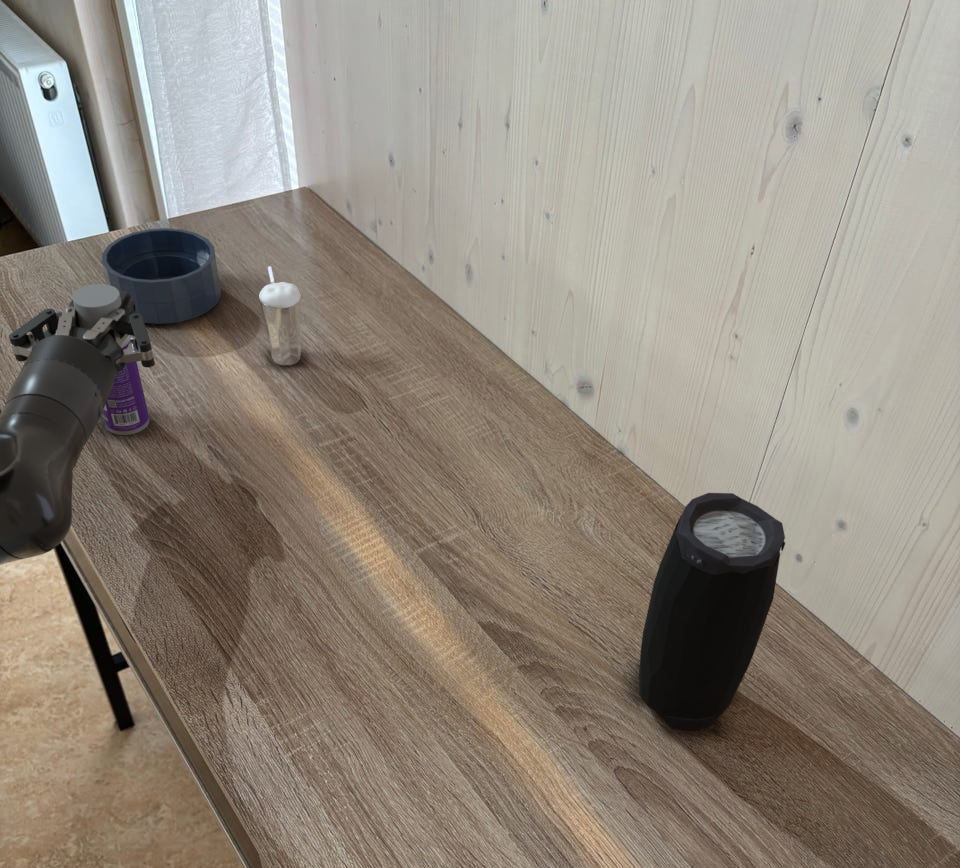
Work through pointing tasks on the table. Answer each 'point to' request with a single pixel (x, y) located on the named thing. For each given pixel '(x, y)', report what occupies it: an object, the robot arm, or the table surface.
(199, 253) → the bowl
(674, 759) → the table surface
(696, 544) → the portable speaker
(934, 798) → the table surface
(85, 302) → the container
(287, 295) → the milkshake
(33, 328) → the robot arm
